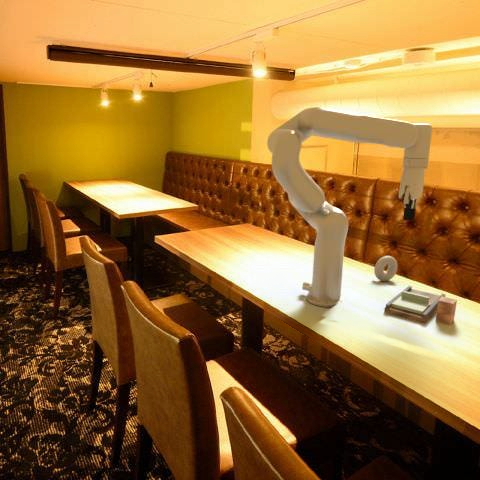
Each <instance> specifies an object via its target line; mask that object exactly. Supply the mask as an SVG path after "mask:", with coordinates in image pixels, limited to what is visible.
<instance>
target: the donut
mask: <svg viewBox="0 0 480 480" xmlns="http://www.w3.org/2000/svg"><path fill="white" fill-rule="evenodd" d="M387 266H388V267H387ZM386 267H387V270H386V271H384V270H385V268H386ZM397 272H398V261H397V260H396V259H395V257H393V256H392V255H391V256H390V255H385V256H381V257H380V258H379V259H378V260H377V261H376V263H375V264H374V270H373V273H374V275H375V277H376V279H377V280H379V281H380V282H381V281H382V282H387V281H390V280H391V279H393V278H394V277H395V276H396V273H397Z"/></svg>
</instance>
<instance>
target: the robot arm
mask: <svg viewBox="0 0 480 480" xmlns="http://www.w3.org/2000/svg"><path fill="white" fill-rule="evenodd" d="M432 135H433V126H432V124H430V123H411V122H409V121H404V120H398V119H392V118H384V117H379V116H378V117H377V116H372V115H368V114H363V113H357V112H350V111H344V110H339V109H333V108H327V107H322V106H315V107H308V108H305V109H303V110H301V111H299V112H298V113H297V114H295V115H294V116H292V117H291V118H289V119H288V120H287V121H285V122H284V123H282V124H281V125H280V126H278V127H276V128H275V129H274V130H272V132H270V134H269V136H268V138H267V142H266V145H267V149H268V151H269V152H270V153H271V155H272V156H271V169H272V173H273V175H274V177H275V180H276V181H277V182H278V184H279V186H281V187H282V188H283V190H284V191H285V192H286V193H287V197H288V200H289V203H290V204H291V205H292V206H293V208H294V209H295V210H296V211H297V212H298V213H299V214H300V215H301V217H302V218H303V219H304V221H306V223H308V224H309V225H310V227H312V228H313V229H314V230H316V231H317V233H316V237H315V242H314V248H313V263H312V265H313V266H312V280H311V283H309V282H306V281H305V282H303V283H302V287H301V288H302V290H304V291H307V292H308V293H307V294H306V300H307V302H308V303H310V304H312V305H315V306H318V307H321V308H322V307H324V308H334V307H335V306H337V305H338V304H339V303H342V302H343V301H345V299H346V298H345V296H344V295H342V293H341V292H342V282H343V281H342V280H343V270H344V269H343V268H344V257H345V256H344V254H345V244H346V238H347V235H348V232H349V231H348V230H349V220H348V219H349V218H348V217H347V215H346V213H345V212H344V211H343V210H341V209H340V208H338V207H336V206H333V205H332V204H330V203H329V202H328V201H327V200H326V195H325V193H324V191H323V189H322V188H321V187H320V186H319V185H318V184H317V183H316V182H315V180H314V179H313V178H312V177H311V176H310V175H309V174H308V172H307V171H306V170H305V168H304V167H303V165H302V164H301V161H300V153H301V149H302V146H303V145H302V144H303V143H304V142H305V141H306V140H308V139H309V138H310V137H312V136H313V137H318V138H319V137H320V138H325V139H331V140H338V141H345V142H349V143H359V144H374V145H383V146H385V147H388V148H397V149H398V148H399V149H404V150H403V157H402V158H403V159H402V168H403V170H402V174H401V178H400V183H399V184H400V185H399V189H398V198H399V199H400V200H402V199H403V204H404V206H403V208H404V209H403V221H404V220H405V221H412V222H413V221H414V220H415V219H416V211H417V204H418V201H419V198H421V197H422V196H423V192H424V187H425V186H424V184H425V175H426V174H425V173H426V171H425V170H428V168H429V159H430V158H429V157H430V150H431V143H432Z"/></svg>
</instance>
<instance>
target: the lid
mask: <svg viewBox="0 0 480 480" xmlns="http://www.w3.org/2000/svg"><path fill="white" fill-rule="evenodd" d="M401 292H402V296H400V297H399V298H398V299H397V300H395V301H394V302H393V303H392V306H391V307H395V308H399V309H403V310H406V311H410V312H414V313H418V314H421V315H422V314H423V313H424V312H425V311H426V310H427V309H428V308H429V307H430V305H431V303H429V297H428V296H424V295H419V294H415V293H411V292H407V291H403V290H402V291H401Z"/></svg>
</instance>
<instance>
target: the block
mask: <svg viewBox="0 0 480 480" xmlns="http://www.w3.org/2000/svg"><path fill="white" fill-rule="evenodd" d="M457 302H458V299H456V298H452V297H451V298H450V297H448V296H447V297H446V296H445V297H441V298H440V299H439V300H438V307H437V311H436V316H435V322H438V323H442V324H446V325H448V326H449V325H450V326H451V324H452V323H453V322H454V321H455V316H456V309H457V308H456V307H457V304H458V303H457Z"/></svg>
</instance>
